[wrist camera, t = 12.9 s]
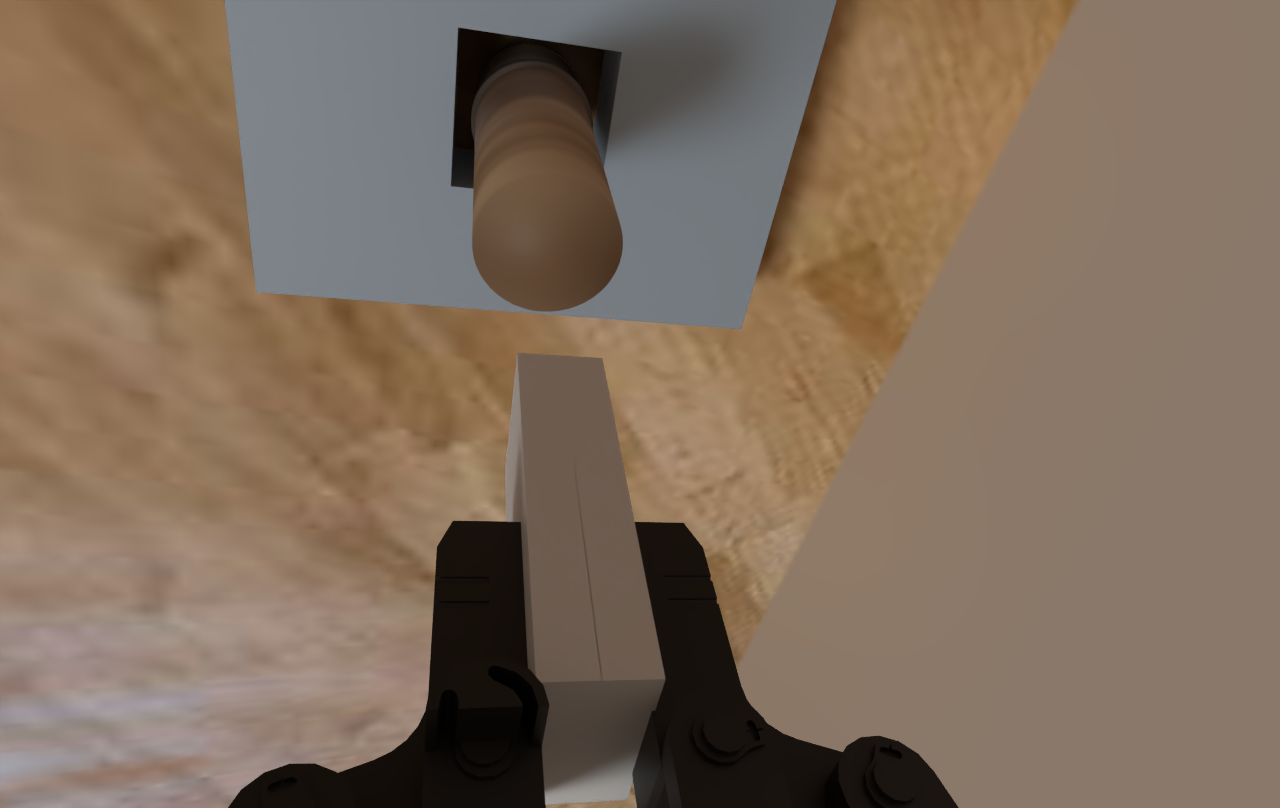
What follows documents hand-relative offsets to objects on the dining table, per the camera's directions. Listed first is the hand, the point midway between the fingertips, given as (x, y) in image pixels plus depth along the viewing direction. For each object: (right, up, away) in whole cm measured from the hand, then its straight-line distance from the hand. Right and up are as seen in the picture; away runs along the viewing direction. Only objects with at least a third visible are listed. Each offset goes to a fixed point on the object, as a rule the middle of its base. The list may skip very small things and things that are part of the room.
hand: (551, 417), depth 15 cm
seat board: (-3, +13, +18) cm, 22 cm away
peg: (-3, +13, +18) cm, 22 cm away
